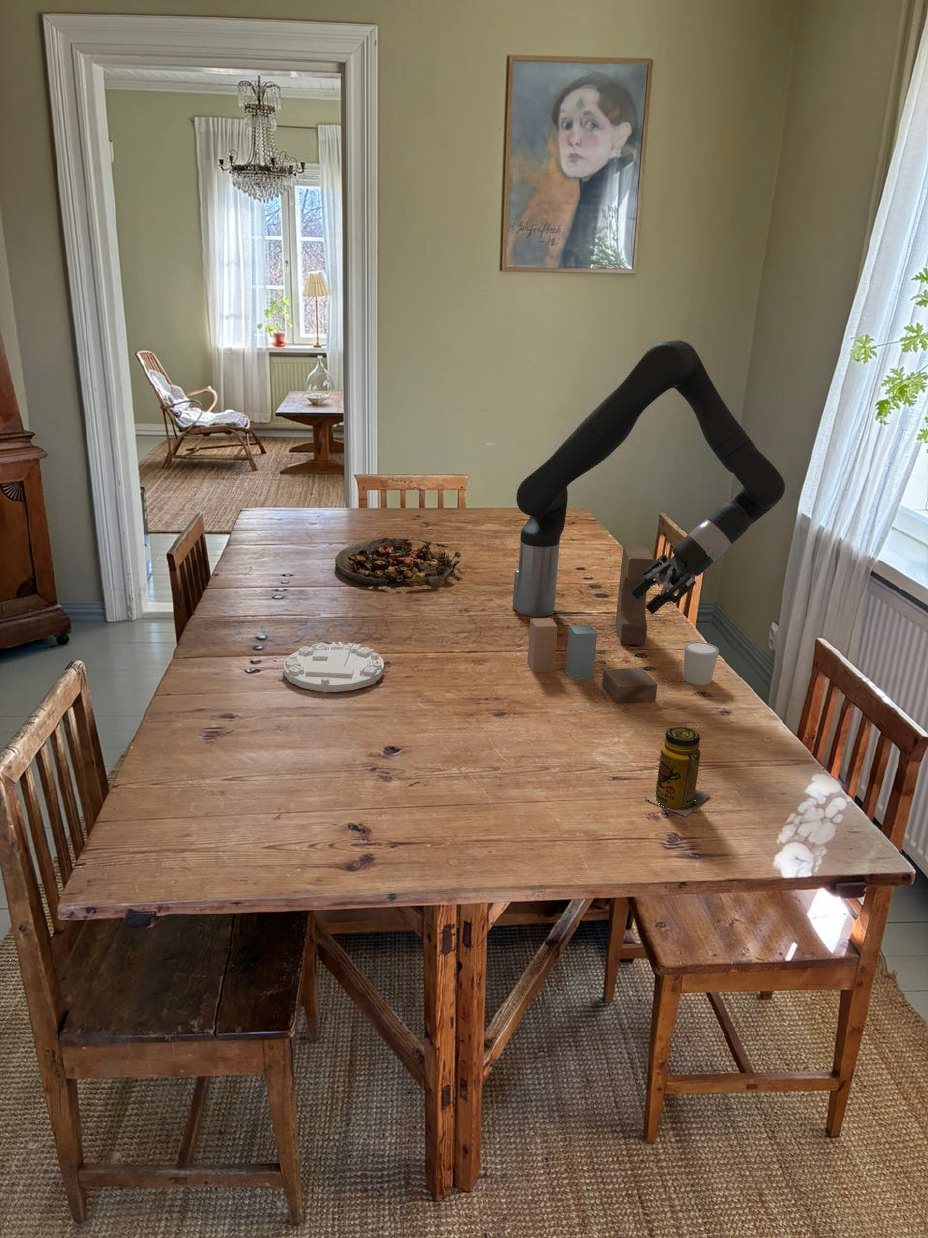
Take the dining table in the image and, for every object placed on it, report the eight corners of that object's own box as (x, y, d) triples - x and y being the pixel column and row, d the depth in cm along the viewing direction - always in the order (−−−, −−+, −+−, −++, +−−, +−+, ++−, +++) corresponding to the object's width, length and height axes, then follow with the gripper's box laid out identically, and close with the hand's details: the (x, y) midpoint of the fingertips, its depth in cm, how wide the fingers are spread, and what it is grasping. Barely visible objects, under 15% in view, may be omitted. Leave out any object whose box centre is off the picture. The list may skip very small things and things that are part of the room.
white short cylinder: (715, 675, 195) (720, 644, 193) (712, 688, 189) (717, 656, 186) (682, 669, 197) (686, 639, 195) (678, 682, 191) (682, 651, 188)
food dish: (484, 582, 248) (486, 554, 245) (374, 605, 231) (374, 575, 228) (415, 543, 275) (415, 518, 272) (311, 561, 257) (310, 534, 254)
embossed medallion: (264, 683, 184) (264, 669, 183) (315, 647, 201) (315, 634, 200) (355, 703, 177) (355, 689, 176) (400, 664, 195) (400, 651, 194)
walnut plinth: (616, 705, 181) (618, 687, 179) (601, 687, 188) (603, 669, 187) (655, 703, 183) (657, 684, 181) (638, 685, 190) (641, 667, 188)
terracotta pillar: (532, 672, 193) (535, 626, 189) (527, 663, 197) (530, 618, 194) (553, 671, 194) (557, 626, 190) (548, 662, 198) (551, 618, 194)
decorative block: (645, 646, 208) (655, 560, 201) (619, 644, 208) (628, 558, 201) (639, 627, 219) (648, 545, 211) (614, 626, 219) (623, 543, 212)
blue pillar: (571, 679, 190) (575, 633, 187) (565, 670, 195) (569, 625, 191) (592, 678, 191) (597, 633, 188) (586, 669, 195) (590, 624, 192)
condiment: (644, 800, 149) (652, 733, 145) (670, 780, 155) (679, 715, 151) (685, 818, 145) (695, 749, 140) (710, 796, 151) (721, 730, 147)
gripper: (676, 525, 192) (618, 579, 195) (705, 545, 179) (642, 603, 181) (698, 549, 195) (639, 602, 197) (727, 571, 182) (665, 628, 184)
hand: (641, 603), depth 189 cm, fingers open, 8 cm apart
